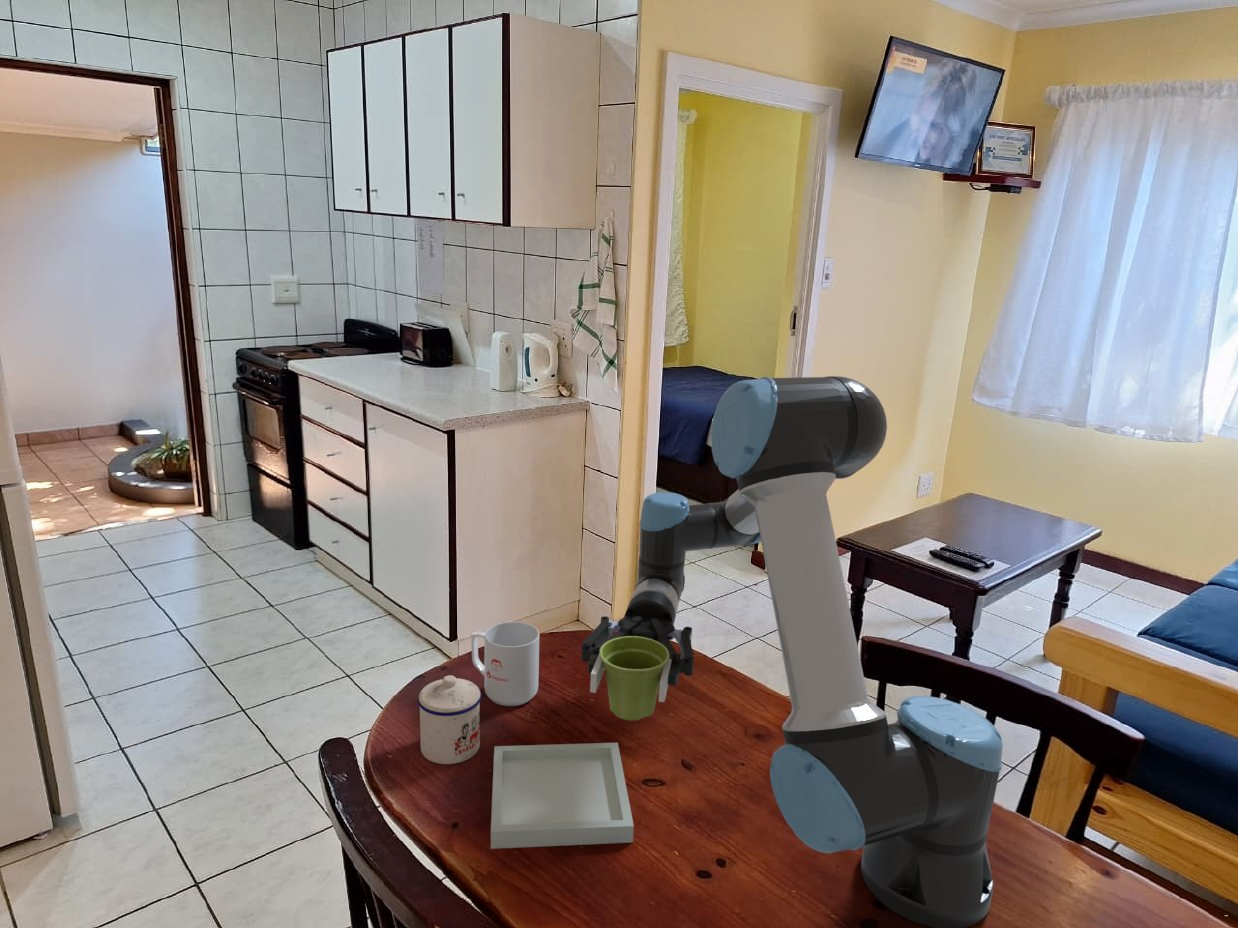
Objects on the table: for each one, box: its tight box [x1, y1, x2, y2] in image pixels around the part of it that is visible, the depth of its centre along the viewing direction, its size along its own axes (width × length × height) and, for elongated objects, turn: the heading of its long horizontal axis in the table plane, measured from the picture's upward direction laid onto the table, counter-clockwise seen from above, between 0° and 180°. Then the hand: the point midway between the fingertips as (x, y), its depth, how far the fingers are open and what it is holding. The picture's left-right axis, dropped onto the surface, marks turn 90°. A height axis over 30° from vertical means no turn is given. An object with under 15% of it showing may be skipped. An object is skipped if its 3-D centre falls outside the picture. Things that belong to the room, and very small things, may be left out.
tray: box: [490, 742, 635, 850], centre depth 116 cm, size 18×18×2 cm
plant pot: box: [600, 636, 669, 721], centre depth 115 cm, size 9×9×9 cm
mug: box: [470, 621, 540, 707], centre depth 140 cm, size 12×9×11 cm
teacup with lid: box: [417, 674, 482, 765], centre depth 126 cm, size 12×9×12 cm
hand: (627, 687), depth 110 cm, fingers closed on plant pot, 8 cm apart
